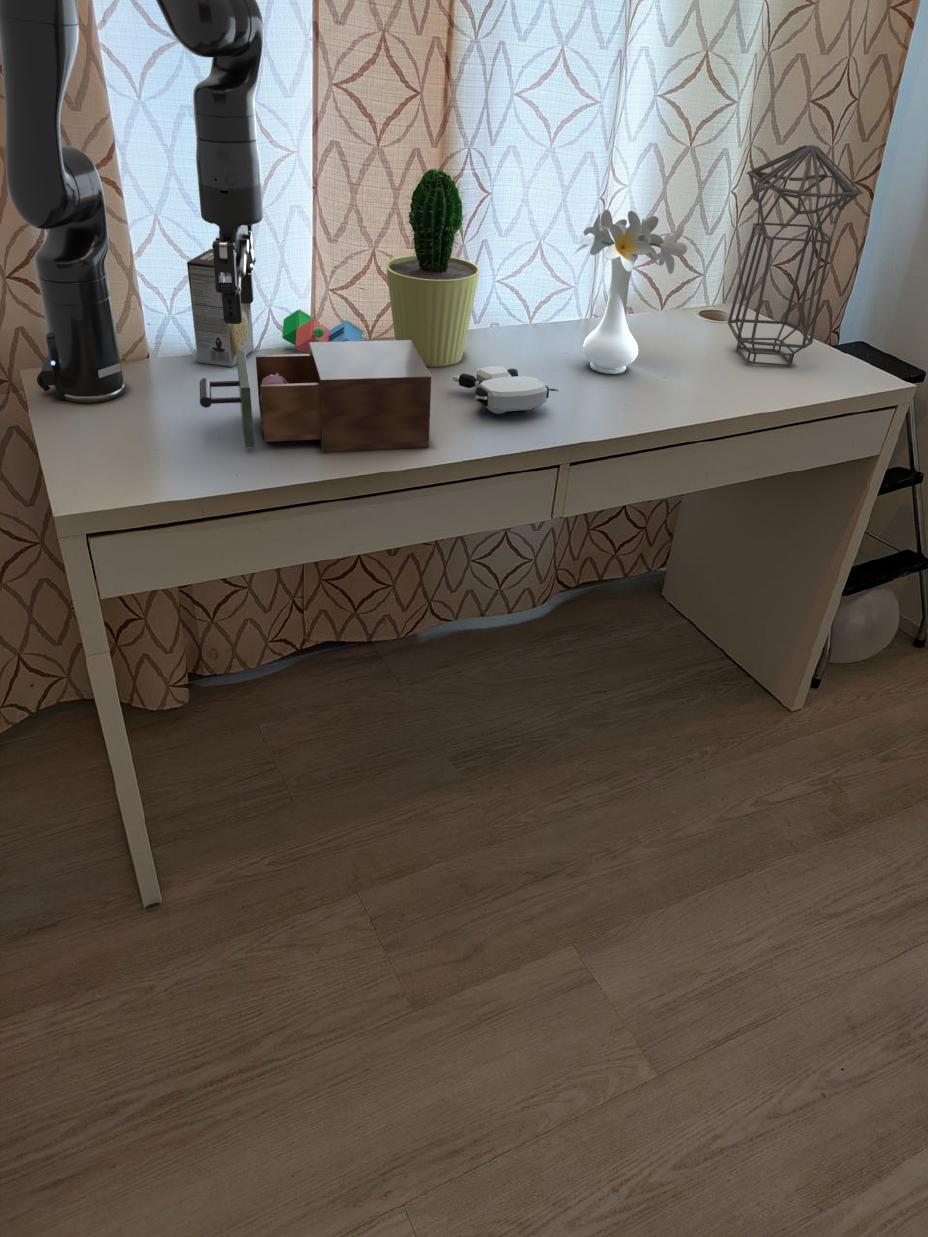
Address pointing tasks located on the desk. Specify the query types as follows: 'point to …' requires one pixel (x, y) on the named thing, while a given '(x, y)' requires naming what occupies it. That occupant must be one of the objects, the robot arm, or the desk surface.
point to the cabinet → (372, 395)
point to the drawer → (276, 397)
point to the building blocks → (316, 331)
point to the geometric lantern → (847, 192)
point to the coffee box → (215, 317)
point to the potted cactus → (433, 275)
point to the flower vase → (623, 283)
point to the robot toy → (505, 389)
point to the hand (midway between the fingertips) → (239, 312)
